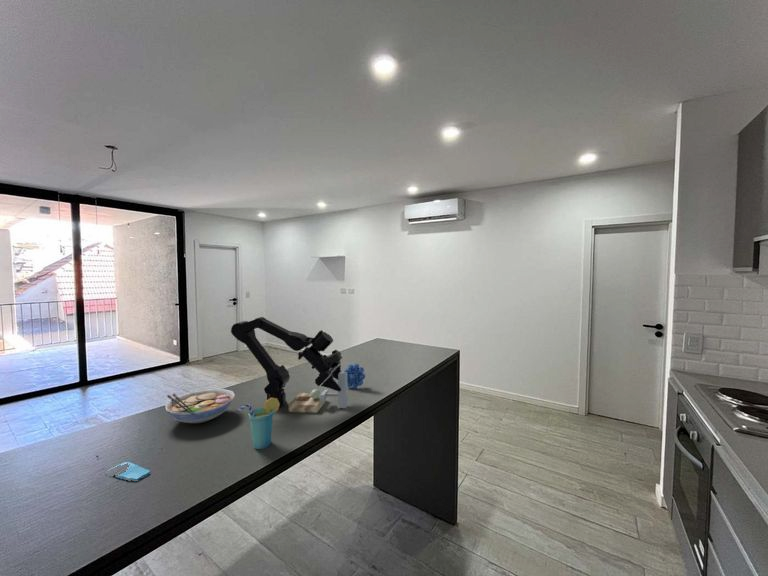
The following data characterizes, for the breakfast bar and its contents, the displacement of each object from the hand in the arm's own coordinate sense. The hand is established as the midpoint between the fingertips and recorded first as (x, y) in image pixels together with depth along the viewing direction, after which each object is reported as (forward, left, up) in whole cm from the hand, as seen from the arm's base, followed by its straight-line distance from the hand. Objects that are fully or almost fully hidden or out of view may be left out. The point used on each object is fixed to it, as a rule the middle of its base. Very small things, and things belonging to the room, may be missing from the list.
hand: (343, 386), depth 130 cm
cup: (-20, -31, -9) cm, 38 cm away
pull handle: (-4, 0, -8) cm, 9 cm away
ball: (-12, 0, -4) cm, 12 cm away
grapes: (0, +22, -9) cm, 24 cm away
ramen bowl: (-51, -15, -9) cm, 54 cm away
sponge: (-49, -48, -9) cm, 69 cm away
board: (-15, 0, -9) cm, 17 cm away
